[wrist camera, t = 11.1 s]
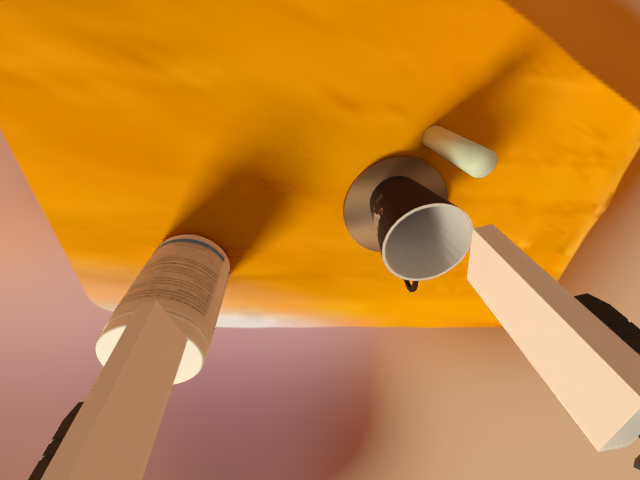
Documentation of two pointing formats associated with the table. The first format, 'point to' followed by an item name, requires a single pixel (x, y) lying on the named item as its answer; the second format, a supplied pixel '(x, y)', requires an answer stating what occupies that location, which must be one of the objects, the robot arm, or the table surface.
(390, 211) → the coffee mug
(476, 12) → the table surface
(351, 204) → the walnut base
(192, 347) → the supplement tub
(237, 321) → the table surface
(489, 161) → the dowel
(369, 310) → the table surface
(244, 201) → the table surface
